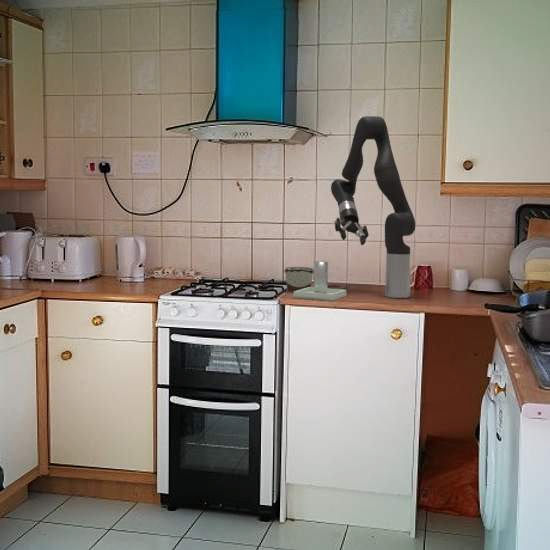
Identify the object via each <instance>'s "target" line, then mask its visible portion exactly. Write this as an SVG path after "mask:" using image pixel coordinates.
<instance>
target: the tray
mask: <svg viewBox="0 0 550 550" xmlns="http://www.w3.org/2000/svg"><path fill="white" fill-rule="evenodd" d="M313 291H314V286H311V287H307V288H304V289H301V290H297V291H294V293H293V299H299V298H302V299H303V300H304V299H305V300H312V299H313V300H312V301H314V300H315V301H324V302H325V301H327V302H334V301H337V300H339V299H343V298H345V297H347V292H348V289H347V290H342V289H329V288H327V294H323V293H313ZM346 291H347V292H346ZM342 297H343V298H342Z"/></svg>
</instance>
